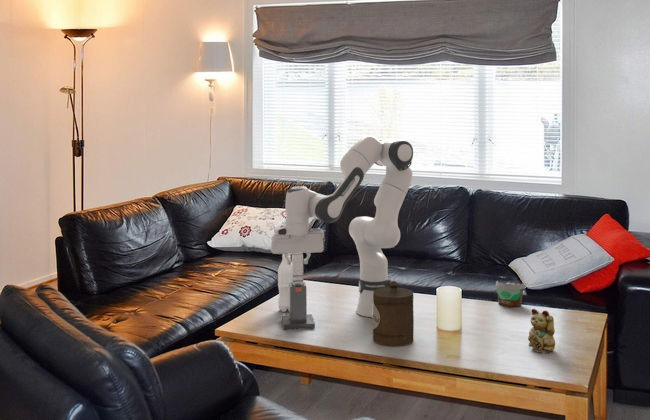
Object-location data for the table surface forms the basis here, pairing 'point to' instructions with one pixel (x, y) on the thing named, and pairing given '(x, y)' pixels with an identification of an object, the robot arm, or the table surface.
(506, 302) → the food container
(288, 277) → the water bottle
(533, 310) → the decorative figurine
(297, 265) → the column
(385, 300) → the wooden container
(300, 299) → the stand
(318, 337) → the table surface
